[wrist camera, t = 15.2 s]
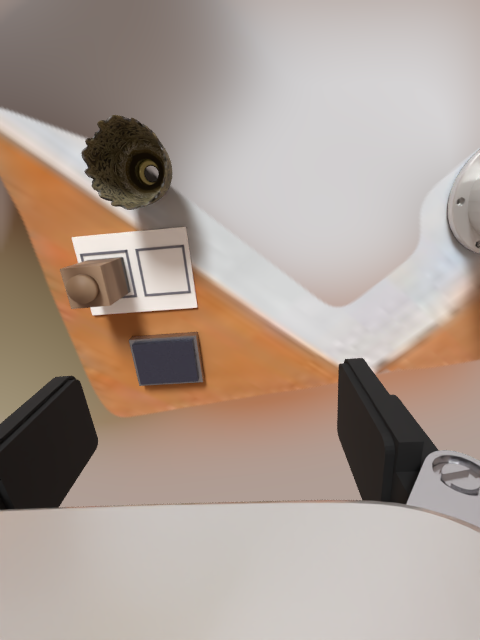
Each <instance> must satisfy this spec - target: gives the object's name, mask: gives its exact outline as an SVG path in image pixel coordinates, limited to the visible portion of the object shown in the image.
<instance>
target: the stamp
mask: <svg viewBox="0 0 480 640" xmlns="http://www.w3.org/2000/svg"><path fill="white" fill-rule="evenodd" d="M60 272H61V275H62V278H63V282H64V285H65V289H66V292H67V295H68V299H69V302H70V306H71V309H75V308H88V307H101V306H111V305H112V304H113V303H115V302H116V301H118V300H119V299H121V298H122V297H124V296H125V295H127V294H128V293H129V292H131V291H130V286H129V282H128V277H127V272H126V268H125V263H124V259H123V257H116V258H105V259H93V260H87V261H84V262H80V263H77V264H74V265H71V266H68V267H65V268H62V269H60Z"/></svg>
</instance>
